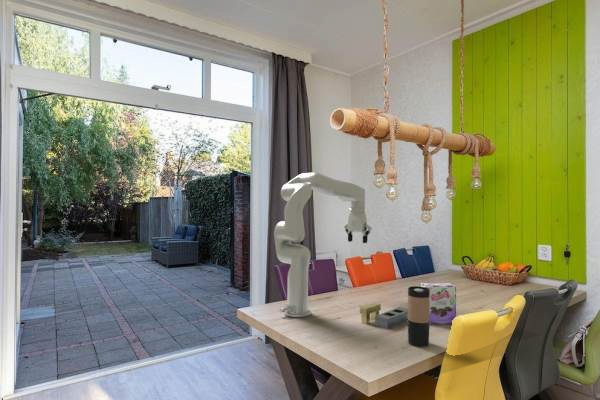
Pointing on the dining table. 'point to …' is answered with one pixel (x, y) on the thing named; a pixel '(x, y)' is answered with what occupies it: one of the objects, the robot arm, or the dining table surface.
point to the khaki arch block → (367, 310)
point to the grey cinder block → (391, 318)
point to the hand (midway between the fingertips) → (357, 242)
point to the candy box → (441, 302)
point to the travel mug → (418, 316)
